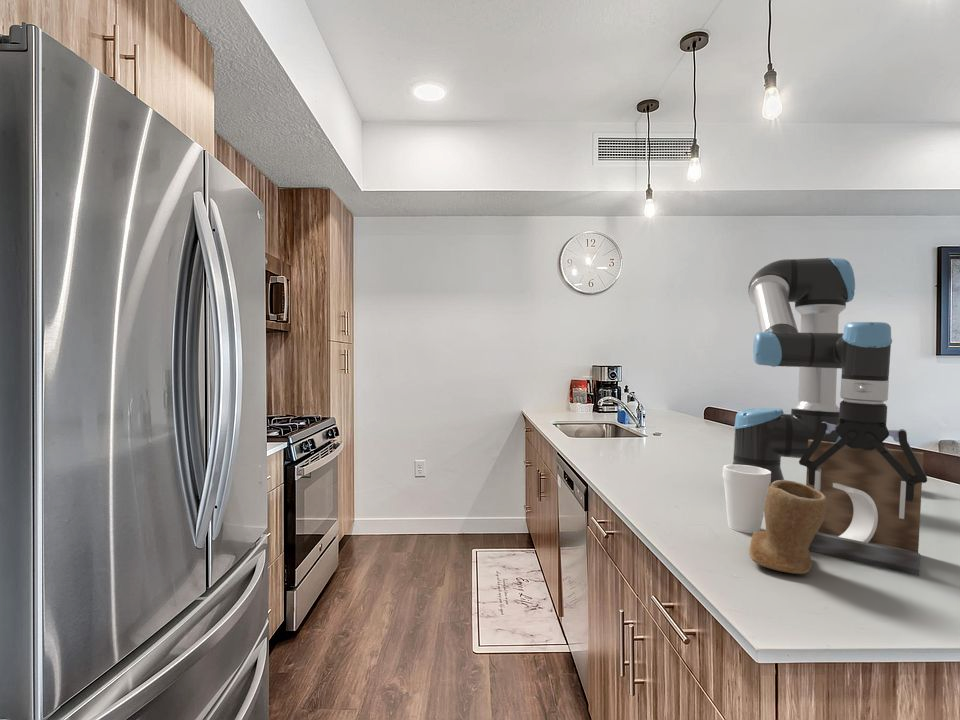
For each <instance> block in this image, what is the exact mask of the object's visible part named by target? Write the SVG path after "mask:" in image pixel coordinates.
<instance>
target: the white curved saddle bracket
mask: <svg viewBox="0 0 960 720" xmlns="http://www.w3.org/2000/svg"><path fill="white" fill-rule="evenodd" d="M833 487H834V488H837V489H840V490H843V491H845V492H846V493H847V494H848V495H849V496H850V498H851V500H852V503H853V510H854V512H853V518H852V522H851V524H850V526H849V527H848V529H847V530H846V531H845V532H844V533H843V534H842V535H840V536H838V537H842V538H847V539H851V540H856V541H861V542H866V543H868V542H869V541H870V540H871V538H872V537H873V535H874V533H875V530H876V527H877V523H878V513H877V508H876V505H875V503H874V501H873V500H872V498H871V497H870V496H869V495H868V494H867V493H865V492H863V491H861V490H858V489H855V488H851V487H848V486H845V485H842V484H838V483H833Z"/></svg>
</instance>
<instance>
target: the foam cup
mask: <svg viewBox="0 0 960 720" xmlns="http://www.w3.org/2000/svg"><path fill="white" fill-rule="evenodd" d="M722 479H723V487H724V496H725V497H724V498H725V499H724V500H725V505H726V508H725V509H726V518H727V524H728V525H727V526H728V528H730V529H732V530H733V531H736V532H739V533H745V534H754V533H755V532H758V531H761V528H762V524H763V519H764V507H765V501H766V495H767V491H768V488H769V485H770V483H771V471H769V470H767V469H764V468H760V467H755V466H749V465H732V464H724V465H723V466H722Z"/></svg>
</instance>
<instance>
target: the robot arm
mask: <svg viewBox="0 0 960 720" xmlns="http://www.w3.org/2000/svg"><path fill="white" fill-rule="evenodd" d="M747 289H748V297H749V299H750V302H751V303H752V304H753V305H754V306H755V312H756V317H757V322H758V326H759V327H758V328H759V332H757V333H755V334H754V338H753V346H752V349H753V350H752V353H753V355H752V356H753V361H754V363H755V364H757V365H759V366H769V367H773V368H775V367H787V368H788V367H795V368H796V367H797V368H799V369H798V390H797V391H798V395H797V403H795V404H794V405H793V406H791V408H790V409H791V410H790V414H788V413H787V414H786V413H784V411H783V409H782V408H779V407H778V408H777V407H758V408H757V407H755V408H746V409H741V410H739V411H738V412H737V413H736V415H735V420H734V426H733V428H734V440H733V441H734V442H733V457H732V459H733V461H732V463H731V465H749V466H755V467H760V468H764V469H767V470H769V471H771V483H773V482H774V481H777V480H785V478H784V474H783V472H782V468H781V459H782V457H783V458H792V459H793V458H794V459H795V458H796V459H799V461H798V464H799V465H800V466H803V467H806V469H807V468H808V469H809V481H808V482H809V485H814V489H816V490H818V491H820V485H821V469H817V467H818V466H820V465H821V464H822V463H823V462H825V461H826V460H827V459H828V458H830V457H831V456H832V455H833V454H835V453H836V452H837V451H838V450H839V449H841V448H842V447H843V446H845V445H847V446H848V447H851V448H854V449H858V448H861V449H864V450H873V449H875V448H876V449H877V451H878V452H879V453H880V454H881V455H882V456H883V457H884V458H885V459H886V460H887V461H888V462H889V463H890V465H891V466H892V467H893V468H894V469H895V470H896V471H897V472H898V474H899V475H900V476H901V477H902V478H903V479H904V480H905V481H906V482H905V481H901V491H900V508H899V518H901V519H904V513H905V500H906V501H912V500H913V496H914V485H915V484H917V483H922V484H924V483H928V482H927V481H928V478H927V475H926V472H925V470H924V469H922V467H921V465H920V464H919V462H918V460H917V458H916V456H915V454H914V453H913V449H912V447H911V446H910V444H909V441H908V437H907V436H908V432H907V430H906V429H903V428H902V429H899V430H898V429H897V430H896V429H895V430H894V429H893V430H891V429H890V430H889V429H888V426H887V419H888V418H887V417H888V405H887V404H886V403H884V402H887V401H889V387H890V386H889V382H890V381H889V380H890V379H889V377H890V362H891V351H892V350H891V349H892V348H891V347H892V343H893V339H892V327H891V325H890V324H889V323H887V322H881V321H880V322H879V321H858V322H857V321H855V322H853V321H852V322H847V323H846V324H845V325H844V328H843V333H842V332H840V333H839V319H840V317H839V315H840V313H842V312H843V311H844V310H845V309H846V308H847V303H849V302H852V301H853V300H854V297H855V290H856V280H855V273H854V269H853V267H852V264H851V263H850V261H848V260H847V259H845V258H835V257H834V258H832V257H821V258H801V259H799V258H798V259H797V258H793V259H792V258H791V259H790V258H787V259H785V258H784V259H780V260H775V261H772V262H770V263H768V264H766V265H765V266H763V267H762V268H760V269H759V270H758V271H757V272H756V273H754V275H753V276H752V277H751V279H750V282H749V283H748V287H747ZM791 302H792V303H794V309H795V311H796V312H797V313H799V315H800V331H799V329H798V326H797V323H796V320H795V316H794V314H793V310H792V308H791V304H790V303H791ZM838 369H840V370H841V377H840V393H839V395H840V396H839V397H840V398H841V399H842V400H841V401H840V402H839V406H838V405H837V403H836V401H837V377H838V376H837V375H838ZM889 437H891V438H892V439H893V441H894V442H895V443H899V446H900V448H901V450H903V452H904V454H905V456H906V457H907V459H908V461H909V463H910V465H911V467H912V468H913V470H914V472H915V474H916V475H914V476H912V475H911V474H910V473H909V472H908V471H907V470H906V469H905V467H904V466H903V465H902V464H901V463H900V462H899V461H898V460H897V459H896V458H895V456H894V455H893V454H892V453H891V452H890V451H889V450H888V449H889V448H888V447H887V446H886V445H885V443H884V442H885V440H887V438H889ZM808 440H813V442H812V443H811V444H810V446H809V447H808ZM821 441H826V442H835V444H834V445H833V446H831V447H830V448H829V449H828V450H827V451H825V452H824V453H823V454H822V455H820V456H819V457H818V458H817V459H816V460H814V461H813V462H812V461H810V460H809V459H810V457H811V456H812V454H813V453H814V451H815V450H816V448H817V447H818V446H819V444H820V443H821ZM771 483H770V485H771ZM770 485H769V486H770Z"/></svg>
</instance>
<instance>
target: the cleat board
mask: <svg viewBox="0 0 960 720" xmlns="http://www.w3.org/2000/svg"><path fill="white" fill-rule="evenodd" d="M812 442H813V440H808V447H809V446H810V444H811V443H812ZM834 444H835V442H826V441H821V443H820V444H819V446H818V447H817V448H816V450H815V451H814V453H813V454H812V456H811V457H810V459H809V460H810V461H812V462H813V461H814V460H816V459H817V458H818V457H819V456H820V455H822V454H823V453H824V452H825V451H827V450H828V449H829V448H830V447H831V446H833V445H834ZM888 450H889V451H890V452H891V453H892V454H893V455H894V456H895V458H896V459H897V460H898V461H899V462H900V463H901V464H902V465H903V466H904V467H905V469H906V470H907V471H908V472H909V473H910V474H911V475H912V476H914V475H916V474H915V472H914V470H913V468H912V467H911V465H910V463H909V461H908V459H907V457H906V456H905V454H904V452H903V450H902V449H894V448H888ZM912 451H913V450H912ZM913 453H914V454H915V456H916V458H917V460H918V462H919V464H920V465H921V467H922V469H923V468H924V467H923V466H924V452H921V451H913ZM817 469H821V485H820V492H821V493H823V494H824V495H825V496H826V498H827V502H828V504H827V509H826V515H825V519H824V521H823V523H822V524H821V526H820V528H819V529H818V531H817V533H816V534H815V536H814V538H813V540H812V542H811V544H810V546H809V549H808V550H809V552H812V553H817V554H822V555H827V556H831V557H836V558H839V559H843V560H848V561H852V562H856V563H860V564H861V563H862V564H866V565H870V566H875V567H879V568H883V569H888V570H893V571H897V572H902V573H904V574H909V575H915V576H920V570H921V569H920V568H921V553H919V545H920V544H919V543H920V527H921V526H920V525H921V509H922V508H921V507H922V505H921V504H922V489H923V487H922V485H923V483H917V484H915V485H914V496H913V500H912V501H906V500H905V513H904V519H901V518H899V508H900V491H901V481H905V480H904V479H903V478H902V477H901V476H900V475H899V474H898V472H897V471H896V470H895V469H894V468H893V467H892V466H891V465H890V463H889V462H888V461H887V460H886V459H885V458H884V457H883V456H882V455H881V454H880V453H879V452H878V451H877V449H876V448H875V449H873V450H864V449H861V448H858V449H854V448H851V447H848V446H847V445H845V446H843V447H842V448H841V449H839V450H838V451H837V452H836V453H835V454H833V455H832V456H831V457H830V458H828V459H827V460H826V461H825V462H823V463H822V464H821V465H820V466H818V467H817ZM923 470H924V469H923ZM805 477H806V479H805V485H807V486H810V487H812V488H813V489H814V485H809V482H808V481H809V469H808V468H807V467H806V476H805ZM905 482H906V481H905ZM833 483H838V484H842V485H845V486H848V487H851V488H855V489H858V490H861V491H863V492H865V493H867V494H868V495H869V496H870V497H871V498H872V500H873V501H874V503H875V505H876V508H877V513H878V523H877V527H876V530H875V533H874V535H873V537H872V538H871V540H870V541H869V542H868V543H866V542H861V541H856V540H851V539H847V538H842V537H838V536H840V535H842V534H843V533H844V532H845V531H846V530H847V529H848V527H849V526H850V524H851V522H852V518H853V512H854V510H853V503H852V500H851V498H850V496H849V495H848V494H847V493H846V492H845V491H843V490H840V489H837V488H834V487H833Z"/></svg>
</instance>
